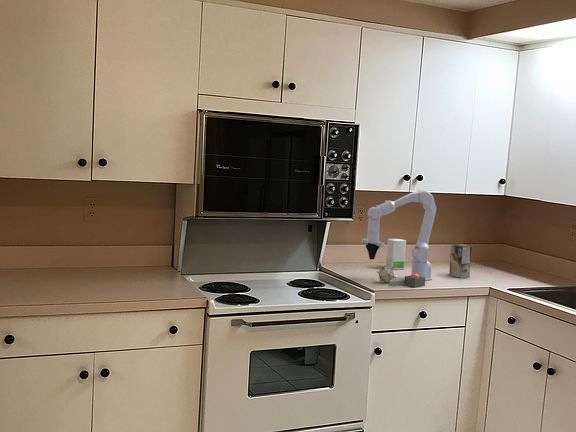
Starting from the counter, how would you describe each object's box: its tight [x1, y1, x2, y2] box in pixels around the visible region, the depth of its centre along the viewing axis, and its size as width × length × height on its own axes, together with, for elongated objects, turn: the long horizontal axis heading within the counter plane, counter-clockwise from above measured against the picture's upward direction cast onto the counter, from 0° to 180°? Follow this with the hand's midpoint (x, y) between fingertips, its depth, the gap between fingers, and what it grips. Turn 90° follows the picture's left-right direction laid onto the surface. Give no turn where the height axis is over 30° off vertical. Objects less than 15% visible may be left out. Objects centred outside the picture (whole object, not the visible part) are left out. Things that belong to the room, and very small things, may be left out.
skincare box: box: [385, 238, 407, 270], centre depth 347 cm, size 8×7×16 cm
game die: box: [376, 265, 397, 284], centre depth 311 cm, size 9×8×10 cm
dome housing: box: [404, 275, 426, 288], centre depth 308 cm, size 7×7×4 cm
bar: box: [388, 279, 405, 287], centre depth 306 cm, size 9×1×2 cm, turn 126°
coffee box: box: [448, 243, 472, 279], centre depth 334 cm, size 9×6×16 cm
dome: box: [409, 273, 420, 279], centre depth 308 cm, size 5×5×5 cm
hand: (371, 259), depth 320 cm, fingers closed
